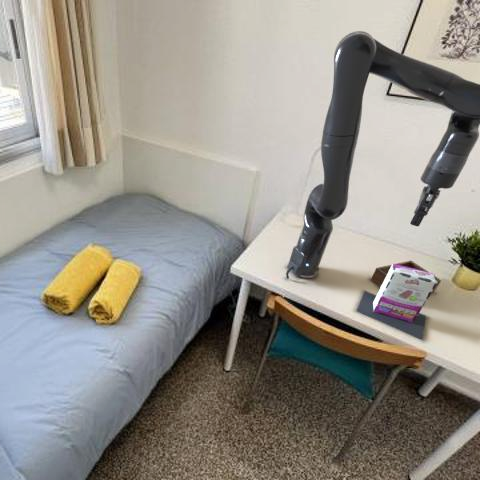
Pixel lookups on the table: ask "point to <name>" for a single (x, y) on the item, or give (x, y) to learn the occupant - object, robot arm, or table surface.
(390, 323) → the desk mat
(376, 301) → the candy bar box
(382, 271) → the desk box
